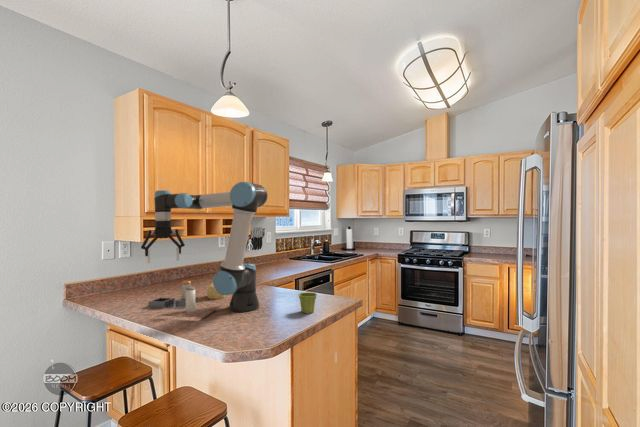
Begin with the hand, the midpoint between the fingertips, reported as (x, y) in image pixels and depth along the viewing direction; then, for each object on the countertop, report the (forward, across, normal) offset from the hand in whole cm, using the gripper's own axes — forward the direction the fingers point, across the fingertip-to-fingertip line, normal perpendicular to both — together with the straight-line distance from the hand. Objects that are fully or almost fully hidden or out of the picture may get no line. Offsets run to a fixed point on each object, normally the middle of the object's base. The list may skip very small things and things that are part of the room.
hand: (163, 261), depth 164 cm
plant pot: (+26, -58, +46) cm, 79 cm away
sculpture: (+25, -28, -4) cm, 38 cm away
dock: (+24, -4, 0) cm, 25 cm away
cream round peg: (+25, -9, +16) cm, 31 cm away
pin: (+23, -11, +1) cm, 26 cm away
